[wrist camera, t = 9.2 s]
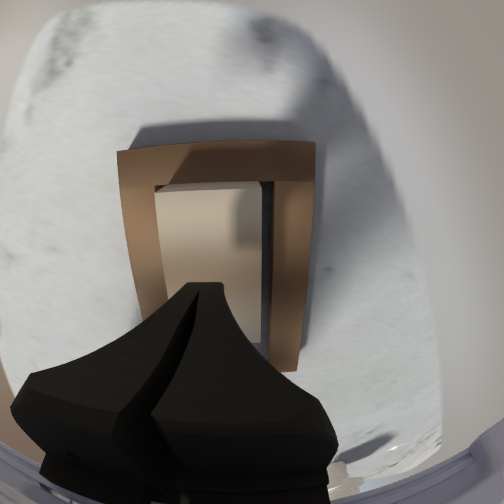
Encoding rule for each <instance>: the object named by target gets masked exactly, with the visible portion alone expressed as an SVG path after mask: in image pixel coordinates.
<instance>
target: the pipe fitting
mask: <svg viewBox="0 0 504 504" xmlns="http://www.w3.org/2000/svg"><path fill="white" fill-rule="evenodd" d="M327 472H328V476H329V484H328V485H327V488H328V493H329V498H330V500H335V499H339V498H344V497H348V496H352V495H356V494H359V493H360V492H359V486H360V485H362V484H363V483H364V479H363V477H354V478H349V477H348V476H349V475H348V472H347V467H346V465H345V463H344V462H343V461H338V462H334V463H331V464H329V465H328V467H327Z"/></svg>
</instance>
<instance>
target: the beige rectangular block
mask: <svg viewBox="0 0 504 504" xmlns="http://www.w3.org/2000/svg"><path fill="white" fill-rule="evenodd" d="M154 194H155V205H156V215H157V225H158V233H159V241H160V249H161V256H162V263H163V270H164V276H165V282H166V288H167V294H168V300H169V299H170V298H171V297H172V296H173V295H174V294H175V293H176V292H177V291H178V290H179V289H180V288H181V287H183V286H184V285H185V284H186V283H187V282H222V283H223V284H224V293H225V297H226V300H227V303H228V305H229V308H230V310H231V312H232V314H233V316H234V318H235V320H236V321H237V323H238V325H239V326H240V328H241V330H242V331H243V333H244V334H245V336H246V337H247V338H248V340H249V341H250V342H251V343H261V265H262V188H261V186H260V183H259V181H234V182H204V183H185V184H169V185H166V186H165V187H163V188H162V189H160V190H158V191H157V192H155V193H154Z"/></svg>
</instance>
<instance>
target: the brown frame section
mask: <svg viewBox="0 0 504 504" xmlns="http://www.w3.org/2000/svg"><path fill="white" fill-rule="evenodd" d="M117 165H118V177H119V188H120V197H121V206H122V214H123V221H124V228H125V235H126V241H127V247H128V253H129V258H130V263H131V268H132V273H133V278H134V283H135V288H136V292H137V296H138V301H139V305H140V309H141V313H142V317H143V321H144V320H145V319H147V318H148V317H149V316H150V315H152V314H153V313H154V312H155V311H156V310H158V309H159V308H160V307H161V306H162V305H163V304H164V303H165V302H167V301H168V294H167V288H166V282H165V276H164V270H163V263H162V256H161V249H160V241H159V233H158V225H157V215H156V205H155V194H154V193H155V192H157V191H158V190H160V189H162V188H163V185H169V184H185V183H204V182H234V181H271V244H270V287H269V320H268V348H267V361H268V362H269V363H270V364H271V365H272V366H273V367H274V368H276V369H277V370H278V371H279V372H293V371H297V365H298V358H299V351H300V343H301V336H302V328H303V320H304V311H305V302H306V292H307V282H308V272H309V260H310V248H311V234H312V219H313V201H314V177H315V142H298V141H217V142H198V143H184V144H172V145H162V146H153V147H144V148H136V149H129V150H122V151H117Z"/></svg>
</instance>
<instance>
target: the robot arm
mask: <svg viewBox="0 0 504 504" xmlns="http://www.w3.org/2000/svg"><path fill="white" fill-rule="evenodd" d="M10 408H11V413H12V416H13V418H14V419H15V421H16V423H17V424H18V425H19V426H20V427H21V429H22V430H23V431H24V432H25V433H26V434H27V435H28V436H29V437H30V438H31V439H32V440H33V441H34V442H35V443H36V444H37V445H38V446H39V447H40V448H41V449H42V450H43V451H44V452H45V453H46V455H45V458H44V460H43V463H42V465H41V464H39V463H37V462H35V461H33V460H31V459H29V458H28V457H26V456H24V455H22V454H20V453H19V452H17V451H15V450H13V449H12V448H10V447H8V446H7V445H5V444H4V443H2V442H0V504H500V503H501V502H502V501H503V500H504V419H502V420H501V421H499V422H498V423H496V424H495V425H494V426H492V427H490V428H489V429H488V430H486V431H485V432H484V433H482V434H481V435H480V436H479V437H478V438H477V439H476V440H475V441H474V442H473V443H472V444H471V445H470V447H469V448H467V449H465V450H464V451H462V452H460V453H458V454H457V455H455V456H453V457H451V458H449V459H447V460H445V461H443V462H441V463H439V464H437V465H435V466H433V467H431V468H429V469H426V470H425V471H422V472H420V473H417V474H415V475H413V476H410V477H408V478H405V479H402V480H400V481H397V482H394V483H392V484H389V485H386V486H383V487H380V488H377V489H373V490H370V491H367V492H363V493H359V494H356V495H352V496H348V497H344V498H339V499H335V500H330V498H329V493H328V488H327V485H328V484H329V476H328V472H327V467H328V465H329V464H330V462H331V461H332V459H333V457H334V456H335V454H336V452H337V449H338V446H339V444H338V440H337V436H336V433H335V430H334V428H333V426H332V424H331V421H330V419H329V417H328V415H327V413H326V412H325V410H324V408H323V406H322V405H321V403H320V401H319V400H318V399H317V398H315V397H314V396H312V395H311V394H309V393H307V392H306V391H304V390H303V389H301V388H300V387H298V386H297V385H295V384H294V383H292V382H291V381H290V380H289V379H287V378H286V377H285V376H284V375H282V374H281V373H280V372H279V371H278V370H277V369H276V368H274V367H273V366H272V365H271V364H270V363H269V362H268V361H267V360H266V359H265V358H264V357H263V356H262V355H261V354H260V353H259V352H258V351H257V349H256V348H255V347H254V346H253V345H252V343H251V342H250V341H249V340H248V338H247V337H246V336H245V334H244V333H243V331H242V330H241V328H240V326H239V325H238V323H237V321H236V320H235V318H234V316H233V314H232V312H231V310H230V308H229V305H228V303H227V300H226V297H225V293H224V284H223V283H222V282H187V283H186V284H185V285H184V286H183V287H181V288H180V289H179V290H178V291H177V292H176V293H175V294H174V295H173V296H172V297H171V298H170V299H169V300H168V301H167V302H165V303H164V304H163V305H162V306H161V307H160V308H159V309H158V310H156V311H155V312H154V313H153V314H152V315H150V316H149V317H148V318H147V319H145V320H144V321H143V322H142V323H140V324H139V325H138V326H136V327H135V328H134V329H132V330H131V331H129V332H128V333H126V334H124V335H123V336H121V337H120V338H118V339H117V340H115V341H113V342H111V343H109V344H107V345H105V346H104V347H102V348H100V349H98V350H96V351H94V352H92V353H90V354H88V355H85V356H83V357H81V358H78V359H76V360H73V361H71V362H68V363H65V364H62V365H59V366H56V367H53V368H49V369H46V370H42V371H38V372H34V373H31V374H30V375H29V376H28V378H27V380H26V381H25V383H24V384H23V386H22V388H21V389H20V391H19V393H18V394H17V396H16V398H15V399H14V401H13V403H12V405H11V406H10ZM51 491H53V492H55V493H57V497H56V496H54V495H53V494H52V492H51Z"/></svg>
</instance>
